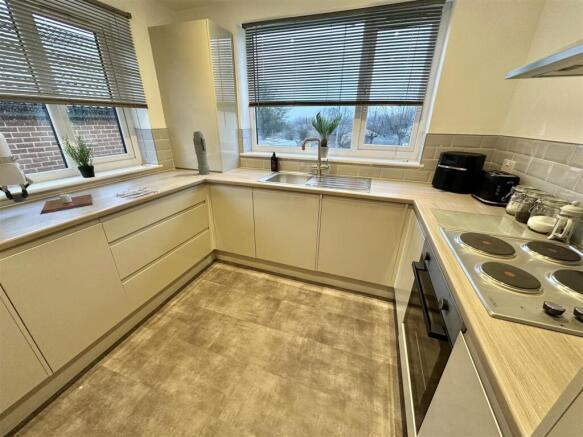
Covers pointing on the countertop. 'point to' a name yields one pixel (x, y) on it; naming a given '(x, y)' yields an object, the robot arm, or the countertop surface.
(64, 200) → the white stone
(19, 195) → the black stone
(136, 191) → the knife set
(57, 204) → the board
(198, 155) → the grey statue
